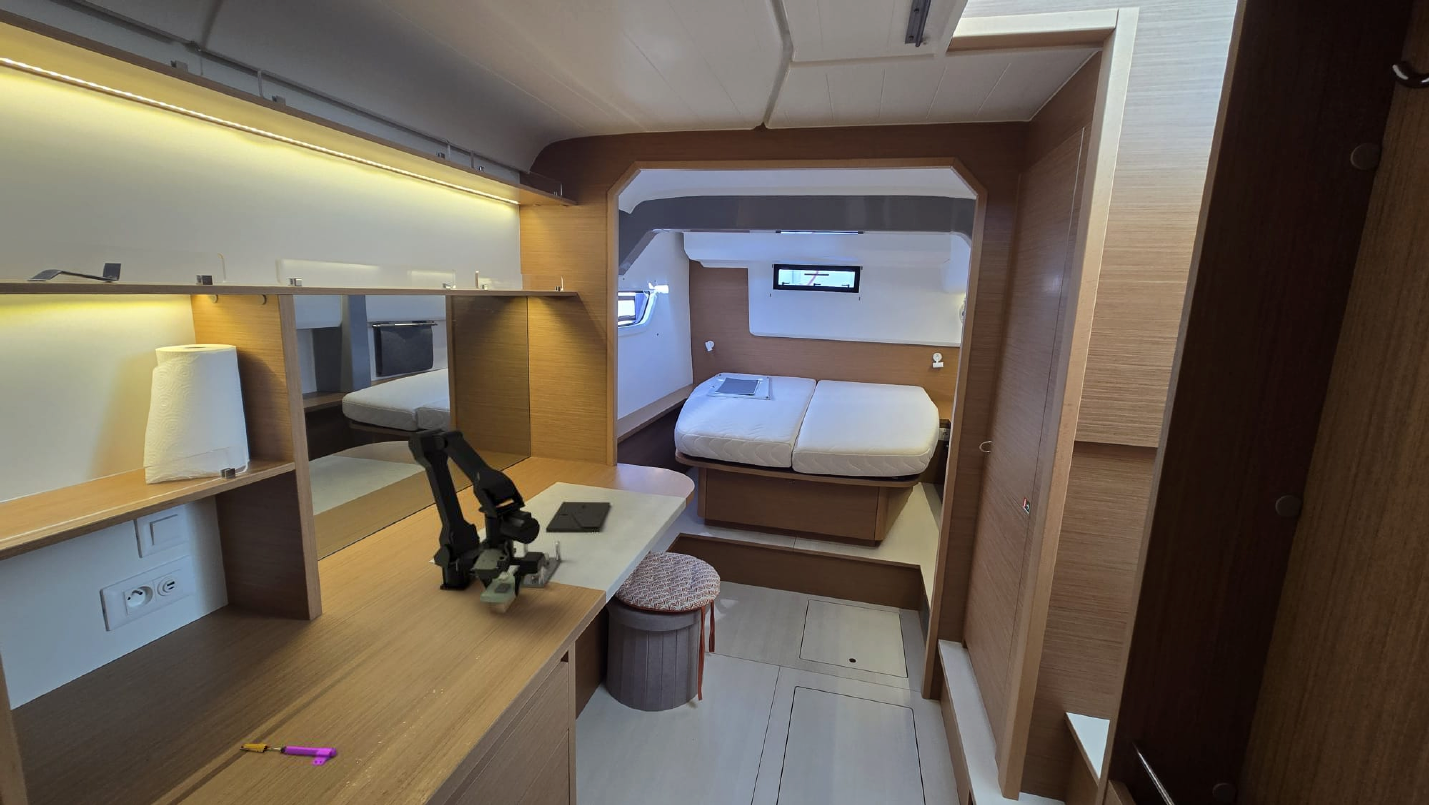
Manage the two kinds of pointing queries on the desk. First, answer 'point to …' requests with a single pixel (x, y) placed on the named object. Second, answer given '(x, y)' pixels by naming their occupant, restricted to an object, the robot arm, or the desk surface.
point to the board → (500, 589)
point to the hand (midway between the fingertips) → (503, 595)
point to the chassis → (542, 569)
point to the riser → (501, 605)
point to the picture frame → (578, 517)
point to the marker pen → (302, 752)
